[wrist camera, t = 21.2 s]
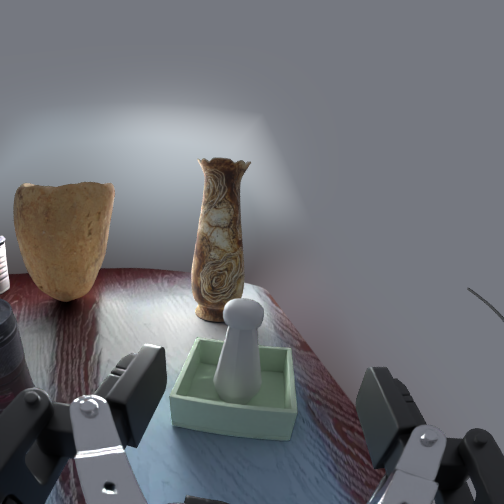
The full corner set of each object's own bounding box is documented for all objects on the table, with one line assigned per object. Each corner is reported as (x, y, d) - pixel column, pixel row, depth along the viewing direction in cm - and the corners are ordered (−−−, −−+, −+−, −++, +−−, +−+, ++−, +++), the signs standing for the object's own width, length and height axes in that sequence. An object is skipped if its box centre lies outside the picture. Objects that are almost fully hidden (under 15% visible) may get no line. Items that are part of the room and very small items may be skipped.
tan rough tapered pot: (130, 288, 66) (132, 180, 60) (90, 331, 44) (83, 182, 38) (56, 277, 64) (53, 180, 59) (5, 310, 43) (-7, 185, 37)
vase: (218, 329, 52) (231, 156, 45) (178, 310, 58) (186, 156, 51) (251, 313, 60) (266, 163, 54) (213, 297, 66) (223, 162, 59)
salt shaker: (265, 390, 35) (279, 300, 32) (248, 416, 30) (261, 320, 27) (225, 377, 37) (232, 289, 34) (204, 400, 32) (206, 305, 29)
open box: (196, 364, 41) (196, 336, 40) (286, 374, 40) (291, 348, 39) (171, 425, 28) (168, 396, 27) (289, 441, 27) (297, 412, 26)
